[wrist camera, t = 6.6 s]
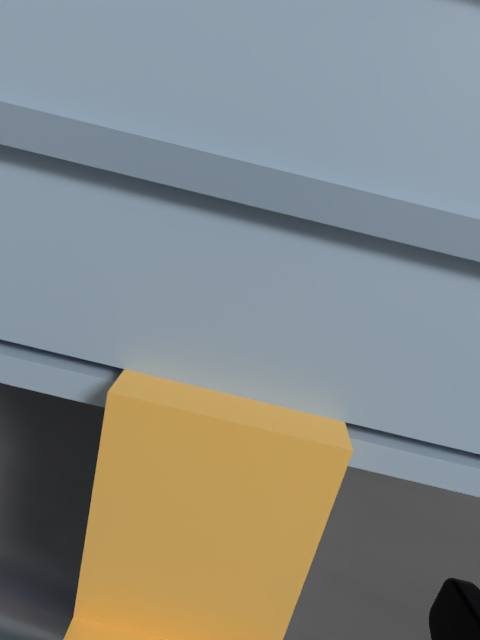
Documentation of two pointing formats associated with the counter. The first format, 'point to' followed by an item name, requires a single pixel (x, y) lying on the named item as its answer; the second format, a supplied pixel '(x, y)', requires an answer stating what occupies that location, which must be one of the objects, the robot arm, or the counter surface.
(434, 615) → the robot arm
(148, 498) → the lid
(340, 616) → the counter surface
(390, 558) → the counter surface
